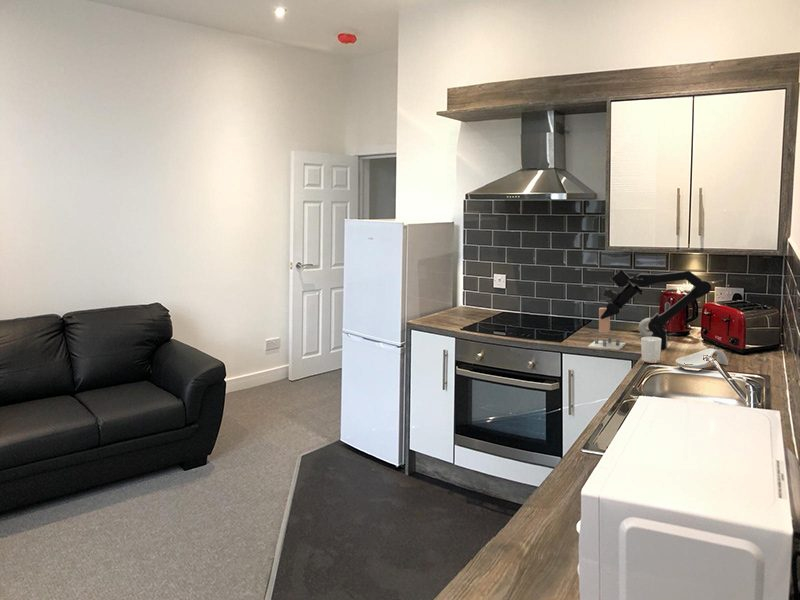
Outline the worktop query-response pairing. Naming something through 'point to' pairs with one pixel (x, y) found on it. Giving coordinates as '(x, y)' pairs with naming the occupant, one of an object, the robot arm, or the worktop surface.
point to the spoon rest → (701, 359)
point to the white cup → (650, 348)
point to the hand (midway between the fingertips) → (601, 317)
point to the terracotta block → (604, 322)
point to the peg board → (607, 344)
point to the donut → (643, 328)
